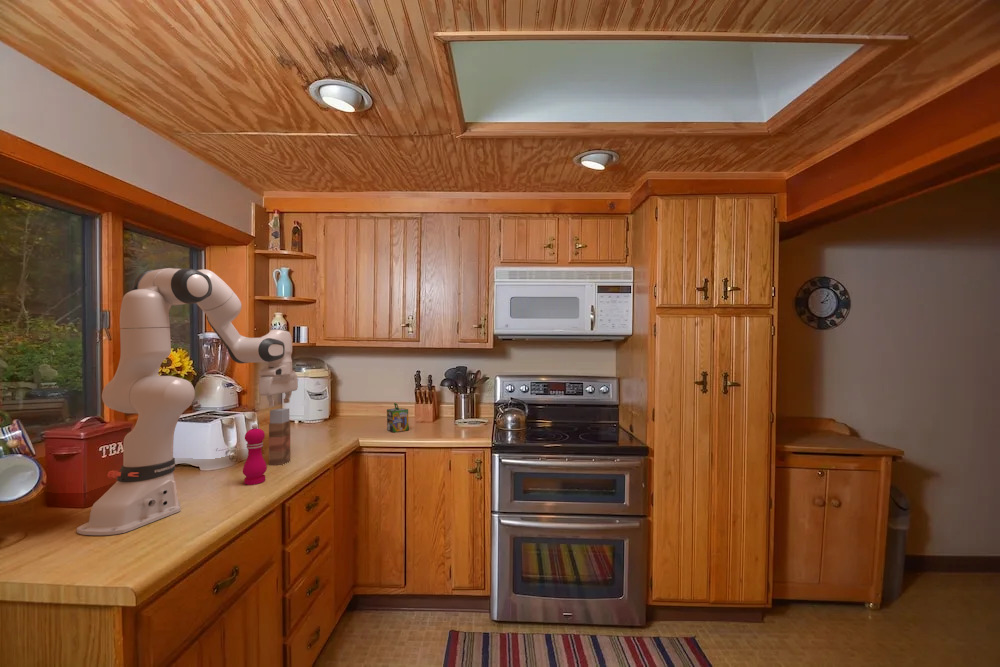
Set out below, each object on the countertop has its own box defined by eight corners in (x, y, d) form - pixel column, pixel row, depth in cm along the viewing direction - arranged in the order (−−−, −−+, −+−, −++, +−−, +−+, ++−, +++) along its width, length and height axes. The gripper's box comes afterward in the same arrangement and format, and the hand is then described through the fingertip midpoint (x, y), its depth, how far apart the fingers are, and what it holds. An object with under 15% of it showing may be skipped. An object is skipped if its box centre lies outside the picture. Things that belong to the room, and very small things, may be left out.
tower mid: (282, 451, 166) (282, 437, 166) (268, 451, 166) (268, 437, 166) (290, 447, 171) (290, 434, 171) (277, 447, 171) (277, 434, 172)
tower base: (282, 465, 165) (282, 451, 166) (268, 465, 166) (268, 451, 166) (290, 461, 171) (290, 447, 171) (277, 461, 171) (277, 447, 171)
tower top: (282, 437, 166) (282, 423, 166) (268, 437, 166) (268, 423, 166) (290, 434, 171) (290, 420, 171) (277, 434, 172) (277, 420, 172)
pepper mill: (239, 482, 146) (239, 424, 146) (262, 477, 151) (262, 421, 151) (246, 487, 141) (246, 427, 141) (269, 481, 146) (269, 423, 147)
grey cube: (281, 423, 166) (281, 410, 166) (269, 423, 166) (269, 410, 166) (289, 420, 171) (289, 408, 171) (277, 420, 171) (277, 408, 171)
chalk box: (409, 430, 228) (408, 403, 228) (392, 433, 222) (392, 404, 223) (402, 427, 235) (402, 401, 235) (386, 430, 230) (386, 402, 230)
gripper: (287, 368, 180) (287, 401, 179) (255, 371, 159) (255, 408, 159) (301, 368, 179) (301, 401, 179) (271, 371, 159) (271, 408, 158)
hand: (279, 404), depth 169 cm, fingers open, 8 cm apart
